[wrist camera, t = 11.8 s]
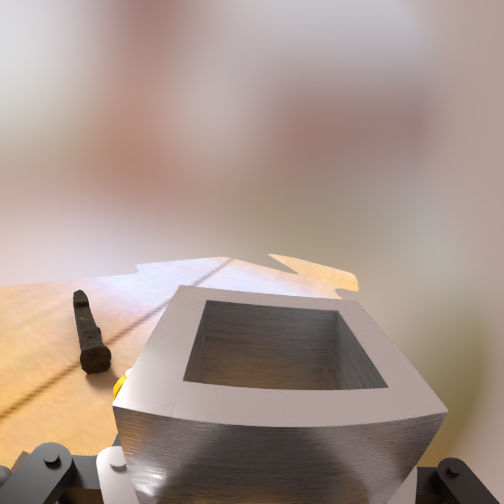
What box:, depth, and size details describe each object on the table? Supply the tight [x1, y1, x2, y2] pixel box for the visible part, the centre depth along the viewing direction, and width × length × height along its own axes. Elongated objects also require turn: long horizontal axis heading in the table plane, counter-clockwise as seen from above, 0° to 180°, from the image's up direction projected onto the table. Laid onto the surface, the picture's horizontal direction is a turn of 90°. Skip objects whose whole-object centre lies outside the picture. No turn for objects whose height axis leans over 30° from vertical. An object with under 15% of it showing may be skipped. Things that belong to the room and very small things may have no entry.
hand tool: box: [73, 290, 111, 374], centre depth 46 cm, size 23×5×6 cm, turn 33°
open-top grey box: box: [112, 285, 448, 504], centre depth 8 cm, size 6×6×10 cm
